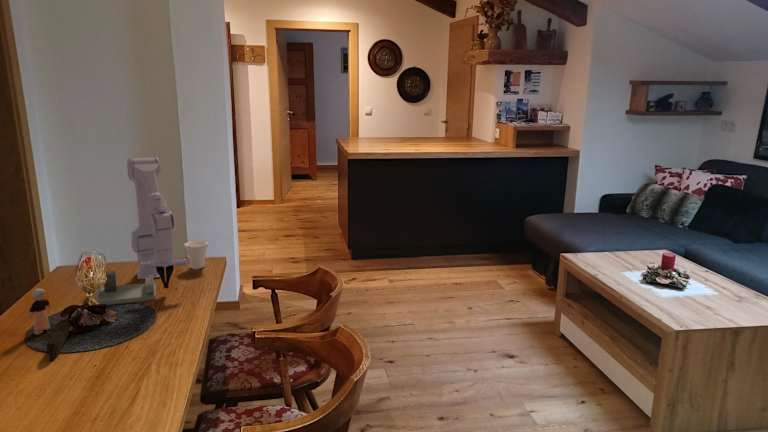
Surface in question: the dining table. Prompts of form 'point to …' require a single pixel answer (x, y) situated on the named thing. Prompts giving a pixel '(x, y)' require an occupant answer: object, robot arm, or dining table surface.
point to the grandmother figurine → (39, 311)
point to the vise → (124, 294)
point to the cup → (196, 253)
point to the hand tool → (58, 339)
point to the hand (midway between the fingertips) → (166, 287)
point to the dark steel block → (111, 282)
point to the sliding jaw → (149, 284)
